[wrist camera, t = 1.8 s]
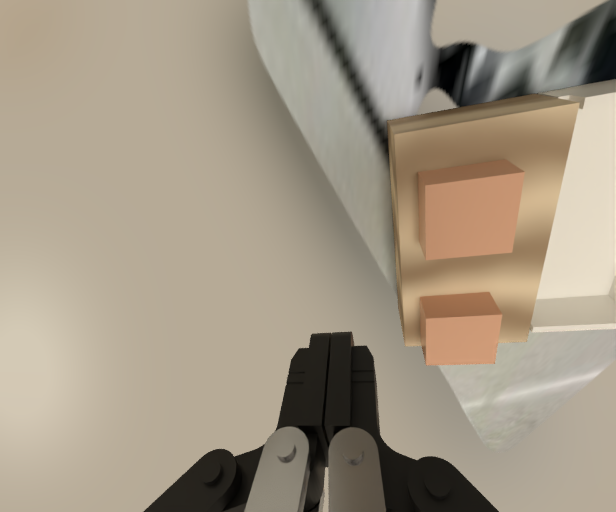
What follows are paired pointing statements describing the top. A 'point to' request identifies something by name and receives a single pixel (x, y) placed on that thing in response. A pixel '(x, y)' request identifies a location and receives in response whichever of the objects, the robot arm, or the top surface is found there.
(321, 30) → the top surface
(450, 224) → the tile inner
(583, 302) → the bin
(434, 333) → the tile outer
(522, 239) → the platform
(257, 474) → the robot arm
